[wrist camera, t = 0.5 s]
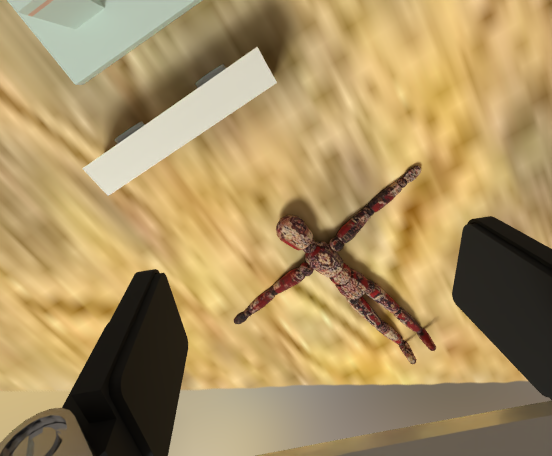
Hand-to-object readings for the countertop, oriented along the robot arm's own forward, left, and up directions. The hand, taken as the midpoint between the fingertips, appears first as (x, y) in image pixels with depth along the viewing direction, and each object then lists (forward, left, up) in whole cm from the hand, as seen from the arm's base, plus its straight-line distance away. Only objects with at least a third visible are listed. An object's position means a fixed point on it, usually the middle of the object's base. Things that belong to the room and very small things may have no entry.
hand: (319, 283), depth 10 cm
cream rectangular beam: (-8, +2, -25) cm, 27 cm away
